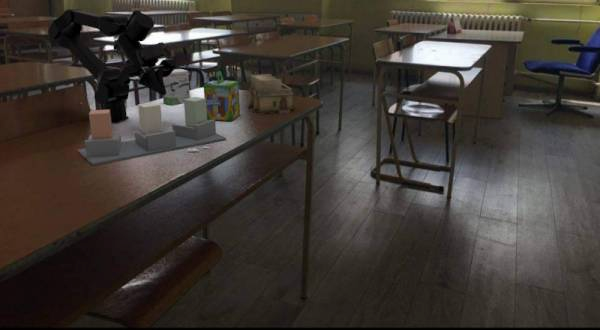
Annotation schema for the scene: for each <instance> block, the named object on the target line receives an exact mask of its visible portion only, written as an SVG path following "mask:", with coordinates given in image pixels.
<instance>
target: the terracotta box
mask: <svg viewBox="0 0 600 330" xmlns="http://www.w3.org/2000/svg"><path fill="white" fill-rule="evenodd" d="M88 118H89V124H90V132H91V133H90V134H91V135H92V140H95V139H111V138H114V134H113V133H114V132H113V126H112V125H113V124H112V123H113V122H111V115H110V110H102V109H95V110H94V109H92V110H90V111H89V113H88Z"/></svg>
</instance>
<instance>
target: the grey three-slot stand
mask: <svg viewBox="0 0 600 330" xmlns="http://www.w3.org/2000/svg"><path fill="white" fill-rule="evenodd" d="M216 125H217V124H216V120H207V121H206V122H203V123H200V124H197V125H194V127H190V126H186V124H185V125H184V124H178V123H173V124H172V126H171V128H172V129H171V130H167V129H165V128H164V127H162V129H163V132H160V133H154V134H148V135H145V134H143V133H142V132H141V130H135V131H134V139H132V140H131V139H130V140H126V141H122V137H121V132H116V133H114V136H113V138H111V139H95V140H92V134H89V136H88V139H85V140H84V145H85V148H79V149H77V152H78V154H80V156H82V157H83V158H84V157H85V158H86V159H87V162H88V163H90V164H91V165H92V166H99V165H104V164H109V163H113V162H120V161H124V160H129V159H134V158H141V157H145V156H146V157H147V156H150V155H156V154H162V153H166V152H170V151H175V150H182V149H186V148H193V147H196V146H202V145H207V144H212V143H213V144H214V143H218V142H224V141H226V140H227V137H225V136H224V135H223V136H222V135H221V134H219V133H217V129H216V128H217V127H216ZM85 158H84V159H85Z"/></svg>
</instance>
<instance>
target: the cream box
mask: <svg viewBox="0 0 600 330" xmlns="http://www.w3.org/2000/svg"><path fill="white" fill-rule="evenodd" d="M137 106H138V107H137V108H138V116H139V126H140V132H142V133H143V134H145V135H148V134H154V133H160V132H163V129H162V128H163V119H162V107H161V106H162V105H161V104H160V103H157V102H154V101H153V102H148V103H140V104H137Z"/></svg>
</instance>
